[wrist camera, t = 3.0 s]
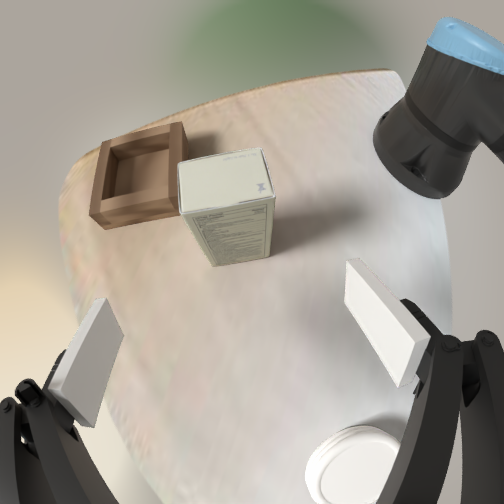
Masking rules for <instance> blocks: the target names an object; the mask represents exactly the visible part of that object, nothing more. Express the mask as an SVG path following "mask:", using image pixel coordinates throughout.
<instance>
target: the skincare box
mask: <svg viewBox="0 0 504 504" xmlns="http://www.w3.org/2000/svg"><path fill="white" fill-rule="evenodd" d="M275 199H276V195H275V192H274V187H273V183H272V179H271V176H270V172H269V168H268V164H267V161H266V158H265V155H264V152H263V150H262V148H251V149H244V150H238V151H232V152H226V153H220V154H215V155H210V156H205V157H200V158H196V159H192V160H187V161H183V162H180V163H178V200H179V212H180V214H181V216H182V218H183V219H184V221H185V223H186V224H187V226H188V228H189V229H190V231H191V233H192V234H193V236H194V238H195V240H196V241H197V243H198V245H199V246H200V248H201V250H202V251H203V253H204V255H205V256H206V258H207V260H208V261H209V263H210V264H211V266H220V265H227V264H233V263H239V262H244V261H250V260H256V259H260V258H265V257H269V255H270V245H271V236H272V227H273V217H274V208H275Z"/></svg>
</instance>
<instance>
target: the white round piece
mask: <svg viewBox="0 0 504 504" xmlns="http://www.w3.org/2000/svg"><path fill="white" fill-rule="evenodd" d="M400 445H401V444H400V443H399V441H398V440H397V439H396V438H395V437H393V436H392V435H390V434H388V433H386V432H384V431H383V430H381V429H379V428H376V427H373V426H355V427H350V428H347V429H344V430H342V431H339V432H337V433H335V434H334V435H332V436H330V437H329V438H328V439H326V440H325V441H324V442H323V443H322V444H320V446H319V447H318V448H317V449H316V450H315V451H314V453H313V454H312V456H311V457H310V459H309V461H308V464H307V467H306V471H305V480H306V484H307V486H308V489H309V491H310V494H311V496H312V498H313V499H314V500H315V502H316V503H318V504H372V503H374V502H375V501H377V500H378V498H379V496H380V494H381V492H382V490H383V488H384V485H385V483H386V481H387V479H388V476H389V474H390V472H391V469H392V467H393V464H394V462H395V459H396V456H397V454H398V451H399V448H400Z"/></svg>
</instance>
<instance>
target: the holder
mask: <svg viewBox="0 0 504 504" xmlns="http://www.w3.org/2000/svg"><path fill="white" fill-rule="evenodd" d="M187 160H188V141H187V138H186V134H185V131H184V127H183V124H182V121H181V122H176V123H172V124H167V125H163V126H158V127H154V128H150V129H146V130H142V131H138V132H134V133H131V134H127V135H124V136H120V137H117V138H114V139H110V140H108V141H104V142H102V145H101V149H100V153H99V158H98V163H97V168H96V173H95V178H94V184H93V190H92V196H91V203H90V210H89V216H90V217H91V218H93V219H94V220H95V221H96V222H97V223H98V224H99V225H100V226H101V227H102V228H103V229H105V230H107V229H112V228H116V227H121V226H126V225H131V224H136V223H141V222H146V221H151V220H157V219H162V218H167V217H173V216H179V215H181V214H180V212H179V200H178V163H180V162H183V161H187Z"/></svg>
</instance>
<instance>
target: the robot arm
mask: <svg viewBox="0 0 504 504" xmlns="http://www.w3.org/2000/svg"><path fill="white" fill-rule="evenodd" d="M481 142H483V143H484V144H485V145H486V146H487V147H488V148H489V149H490V150H491V151H492V152H493V153H494V154H495V155H496V156H497V157H498V158H499V159H500V160H501V161H502V162H503V164H504V44H502V43H501V42H500V41H498V40H497V39H495V38H493V37H492V36H490V35H489V34H487V33H486V32H484V31H482V30H480V29H479V28H477V27H475V26H473V25H471V24H469V23H467V22H464V21H462V20H459V19H456V18H453V17H444V18H441V19H440V20H439V21H438V22H437V24H436V26H435V29H434V30H433V32H432V34H431V36H430V38H428V39H427V47H426V49H425V51H424V54H423V56H422V58H421V61H420V63H419V66H418V68H417V70H416V72H415V74H414V77H413V79H412V81H411V83H410V85H409V87H408V89H407V92H406V94H405V96H404V97H403V98H402V99H401V100H399V101H398V102H397V103H396V104H395V105H394V106H393V107H392V108H391V109H390V110H389V111H388V112H386V113H385V114H384V115H382V117H381V118H380V119H379V121H378V123H377V126H376V128H375V130H374V133H373V143H374V147H375V150H376V152H377V154H378V156H379V158H380V160H381V161H382V163H383V164H384V166H385V167H386V168H387V170H388V171H389V172H390V173H391V174H392V175H393V176H394V177H395V178H396V179H397V180H398V181H399V182H400V183H402V184H403V185H404V186H406V187H407V188H409V189H410V190H412V191H414V192H416V193H417V194H420V195H422V196H425V197H428V198H434V199H440V198H444V197H447V196H448V195H450V194H451V193H452V192H453V191H454V190H455V189H456V188H457V187H458V186H459V184H460V182H461V181H462V178H463V175H464V173H465V170H466V168H467V165H468V162H469V160H470V157H471V154H472V152H473V151H474V150H475V148H476V147H477V146H478V145H479V144H480V143H481ZM344 303H345V304H346V306H347V307H348V309H349V310H350V312H351V314H352V315H353V317H354V318H355V320H356V321H357V323H358V324H359V326H360V327H361V329H362V331H363V332H364V334H365V335H366V337H367V338H368V340H369V342H370V343H371V345H372V346H373V348H374V350H375V351H376V353H377V355H378V356H379V358H380V359H381V361H382V363H383V364H384V366H385V368H386V369H387V371H388V373H389V374H390V376H391V378H392V379H393V381H394V383H395V384H396V386H397V388H399V387H402V386H404V385H406V384H409V383H411V382H412V381H413V379H414V377H415V374H417V375H418V377H419V378H420V380H419V382H418V384H417V386H416V388H415V390H414V392H413V394H415V393H416V394H415V398H414V402H413V406H412V410H411V413H410V417H409V420H408V424H407V427H406V430H405V433H404V436H403V439H402V442H401V445H400V448H399V451H398V454H397V456H396V459H395V462H394V464H393V467H392V469H391V472H390V474H389V476H388V479H387V481H386V483H385V485H384V488H383V490H382V492H381V494H380V496H379V498H378V500H377V502H376V504H437V501H438V498H439V496H440V493H441V490H442V486H443V484H444V480H445V477H446V474H447V470H448V466H449V462H450V458H451V454H452V449H453V445H454V440H455V435H456V429H457V423H458V417H459V411H460V420H461V433H462V454H463V455H462V459H463V464H462V466H463V467H462V470H463V471H462V492H461V504H504V352H503V349H502V346H501V343H500V341H499V339H498V337H497V335H495V334H494V333H493V332H491V331H488V330H482V331H479V332H478V333H477V335H476V337H475V339H474V340H472V341H464V342H461V341H460V340H459V339H458V338H456V337H454V336H451V335H443V334H442V333H441V332H440V330H439V329H438V328H437V327H436V326H435V325H434V324H433V323H432V322H431V320H430V319H429V318H428V317H426V315H425V314H424V313H423V312H422V311H421V310H420V308H419V307H418V306H417V305H416V304H415V303H413V302H411V301H410V300H408V299H402V300H399V299H398V298H397V297H396V296H395V295H394V294H393V293H392V292H391V291H390V290H389V289H388V288H387V286H386V285H385V284H384V283H383V282H382V281H381V280H380V279H379V278H378V277H377V276H376V275H375V274H374V273H373V272H372V271H371V270H370V269H369V267H368V266H367V265H366V264H365V263H364V262H363V261H362V260H361V259H360V258H357V259H351V260H347V263H346V283H345V298H344ZM123 337H124V334H123V332H122V330H121V328H120V326H119V324H118V322H117V320H116V318H115V315H114V313H113V311H112V309H111V306H110V304H109V302H108V300H107V298H99V299H95V301H94V302H93V304H92V306H91V307H90V309H89V311H88V312H87V314H86V316H85V318H84V319H83V321H82V323H81V324H80V326H79V328H78V330H77V332H76V333H75V335H74V337H73V339H72V341H71V342H70V344H69V346H68V348H67V349H65V350H64V351H63V352H62V353H61V354H60V355H59V356H58V358H57V360H56V362H55V365H54V366H53V368H52V371H51V372H50V374H49V376H48V378H47V380H46V382H45V384H44V386H43V388H42V390H41V389H40V387H39V386H38V385H37V384H36V383H35V381H34V380H32V379H25V380H23V381H22V382H20V383H19V385H18V386H17V387H16V390H15V396H16V397H17V398H18V399H19V400H20V402H21V404H18V403H17V402H16V401H15V400H14V399H13V398H12V397H7V398H5V399H3V400H2V401H1V403H0V504H119V503H118V501H117V500H116V499H115V497H114V496H113V494H112V493H111V491H110V490H109V488H108V486H107V485H106V483H105V481H104V480H103V478H102V476H101V475H100V473H99V471H98V470H97V468H96V466H95V464H94V463H93V461H92V459H91V457H90V455H89V453H88V451H87V449H86V447H85V446H84V443H83V441H82V439H81V437H80V435H79V433H78V430H77V429H76V427H75V426H74V425H73V423H74V420H76V421H77V422H78V423H79V424H80V425H81V426H85V427H92V428H94V427H95V424H96V420H97V416H98V412H99V409H100V406H101V402H102V399H103V396H104V393H105V389H106V386H107V383H108V380H109V377H110V374H111V371H112V368H113V365H114V362H115V359H116V356H117V353H118V351H119V348H120V345H121V342H122V340H123ZM21 437H23V438H24V439H25V443H22V442H21Z"/></svg>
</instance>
